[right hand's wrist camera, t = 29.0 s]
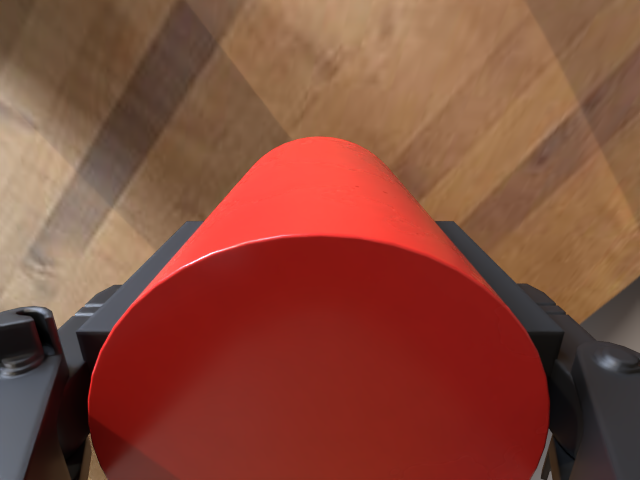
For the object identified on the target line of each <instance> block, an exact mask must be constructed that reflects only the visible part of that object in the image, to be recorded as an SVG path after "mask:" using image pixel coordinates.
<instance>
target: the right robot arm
mask: <svg viewBox="0 0 640 480" xmlns="http://www.w3.org/2000/svg"><path fill="white" fill-rule="evenodd" d="M203 222H204V221H187V222H186V223H185V224H184V225H183V226H182V227H181V228H180V229H179V230H178V231H177V232H176V233H175V234H174V235H173V236H172V237H171V238H170V239H169V240H168V241H167V242H166V243H164V244H163V245H162V246H161V247H160V248H159V249H158V250H157V251H156V252H155V253H154V254H153V255H152V256H151V257H150V258H149V259H148V260H147V261H146V262H145V263H144V264H143V265H142V266H141V267H140V268H139V269H138V270H137V271H136V272H135V273H134V274H133V275H132V276H131V277H130V278H129V279H128V280H127V281H126V282H125V283H124V284H123V285H113V286H111V287H109V288H107V289H105V290H104V291H102V292H100V293H98V294H96V295H95V296H94V297H93V298H92V299H91V300H90V301H89V302H88V303H86V304H85V307H82V308H81V309H80V310H79V311H78V312H77V313H76V314H75V316H72V317H71V318H70V319H69V320H68V321H67V322H66V323H65V324H64V325H62V326H61V327H60V328H59V329H58V330H57V327H56V324H55V320H54V317H53V313H52V311H51V310H49V309H47V308H46V307H37V306H31V307H20V308H16V309H12V310H7V311H3V312H1V313H0V480H88V473H89V467H90V460H91V453H92V452H91V445H90V441H89V437H88V435H89V433H90V429H89V423H88V395H89V389H90V383H91V377H92V372H93V369H94V367H95V364H96V361H97V358H98V355H99V352H100V350H101V348H102V346H103V344H104V342H105V341H106V339H107V337H108V335H109V334H110V332H111V330H112V328H113V327H114V325H115V324H116V323H117V322H118V320H119V319H120V318H121V317H122V315H123V314H124V313H125V312H126V311H127V309H128V308H129V307H130V306H131V304H132V303H133V302H134V301H135V300H136V299H137V298H138V296H139V295H140V294H141V293H142V292H143V291H144V290H145V288H146V287H147V286H148V285H149V284H150V283H151V282H152V280H153V279H154V278H155V277H156V276H157V275H158V274H159V272H160V271H161V270H162V269H163V268H164V267H165V266H166V264H167V263H168V262H169V261H170V260H171V259H172V258H173V256H174V255H175V254H176V253H177V252H178V251H179V250H180V249H181V247H182V246H183V245H184V244H185V243H186V242H187V241H188V239H189V238H190V237H191V236H192V235H193V234H194V233H195V231H196V230H197V229H198V228H199V227H200V226H201V225H202V223H203ZM435 223H436V224H437V225H438V226H439V227H440V228H441V230H442V231H443V232H444V233H445V234H446V235H447V236H448V238H449V239H450V240H451V241H452V242H453V243H454V245H455V246H456V247H457V248H458V249H459V250H460V252H461V253H462V254H463V255H464V256H465V257H466V259H467V260H468V261H469V262H470V263H471V264H472V265H473V267H474V268H475V269H476V270H477V271H478V272H479V274H480V275H481V276H482V277H483V278H484V279H485V281H486V282H487V283H488V284H489V285H490V286H491V288H492V289H493V290H494V291H495V292H496V293H497V295H498V296H499V297H500V298H501V299H502V300H503V301H504V303H505V304H506V305H507V306H508V307H509V309H510V310H511V311H512V312H513V314H514V315H515V316H516V317H517V319H518V320H519V321H520V323H521V324H522V325H523V326H524V328H525V329H526V331H527V333H528V334H529V336H530V338H531V340H532V342H533V344H534V345H535V347H536V349H537V351H538V353H539V356H540V359H541V362H542V365H543V368H544V371H545V374H546V378H547V384H548V391H549V398H550V421H549V429H550V431H551V432H552V433H553V434H552V438H551V441H550V444H549V448H548V451H547V455H546V458H545V462H544V465H543V469H542V474H541V479H544V480H547V478H548V475H549V472H550V471H551V472H552V479H553V480H640V353H638V352H636V351H633V350H631V349H629V348H627V347H624V346H621V345H617V344H614V343H610V342H603V341H596V340H595V339H594V338H593V337H592V336H591V335H590V334H589V333H588V332H587V331H586V330H584V329H583V328H582V327H581V326H580V325H579V324H578V323H577V322H576V321H575V320H573V319H572V318H571V317H570V316H569V315H566V312H565V311H564V310H562V309H561V308H560V307H559V306H556V303H555V302H554V301H553V300H551V299H550V298H549V297H548V296H547V295H546V294H545V293H544V292H542V291H540V290H538V289H536V288H534V287H532V286H530V285H528V284H516V283H515V282H514V281H513V280H512V279H511V278H510V277H509V276H508V275H507V274H506V273H505V272H504V271H503V270H502V269H501V268H500V267H499V266H498V265H497V264H496V263H495V262H494V261H493V260H492V259H491V258H490V257H489V256H488V255H487V254H486V253H485V252H484V251H483V250H482V249H481V248H480V247H479V246H478V245H477V244H476V243H475V242H474V241H473V240H472V239H471V238H470V237H469V236H468V235H467V234H466V233H465V232H464V231H463V230H462V229H461V228H460V227H459V226H458V225H457V224H456V223H455V222H454V221H435Z"/></svg>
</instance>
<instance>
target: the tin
mask: <svg viewBox="0 0 640 480" xmlns="http://www.w3.org/2000/svg"><path fill="white" fill-rule="evenodd" d="M549 421H550V398H549V391H548V384H547V378H546V374H545V371H544V368H543V365H542V362H541V359H540V356H539V353H538V351H537V349H536V347H535V345H534V344H533V342H532V340H531V338H530V336H529V334H528V333H527V331H526V329H525V328H524V326H523V325H522V324H521V323H520V321H519V320H518V319H517V317H516V316H515V315H514V314H513V312H512V311H511V310H510V309H509V307H508V306H507V305H506V304H505V303H504V301H503V300H502V299H501V298H500V297H499V296H498V295H497V293H496V292H495V291H494V290H493V289H492V288H491V286H490V285H489V284H488V283H487V282H486V281H485V279H484V278H483V277H482V276H481V275H480V274H479V272H478V271H477V270H476V269H475V268H474V267H473V265H472V264H471V263H470V262H469V261H468V260H467V259H466V257H465V256H464V255H463V254H462V253H461V252H460V250H459V249H458V248H457V247H456V246H455V245H454V243H453V242H452V241H451V240H450V239H449V238H448V236H447V235H446V234H445V233H444V232H443V231H442V230H441V228H440V227H439V226H438V225H437V224H436V223H435V221H434V220H433V219H432V218H431V217H430V216H429V214H428V213H427V212H426V211H425V210H424V209H423V207H422V206H421V205H420V204H419V203H418V202H417V200H416V199H415V198H414V197H413V196H412V195H411V194H410V192H409V191H408V190H407V189H406V188H405V187H404V185H403V184H402V183H401V182H400V181H399V180H398V178H397V177H396V176H395V175H394V174H393V173H392V171H391V170H390V169H389V168H388V167H387V166H386V165H385V164H384V163H383V162H382V161H381V160H380V159H379V158H378V157H377V156H375V155H374V154H373V153H371V152H370V151H368V150H367V149H365V148H363V147H361V146H359V145H357V144H355V143H352V142H349V141H346V140H342V139H338V138H333V137H307V138H302V139H297V140H294V141H291V142H288V143H285V144H283V145H281V146H279V147H277V148H275V149H273V150H271V151H270V152H268V153H267V154H266V155H264V156H263V157H262V158H261V159H260V160H258V161H257V162H256V163H255V164H254V165H253V166H252V168H251V169H250V170H249V171H248V172H247V173H246V174H245V176H244V177H243V178H242V179H241V180H240V181H239V182H238V183H237V185H236V186H235V187H234V188H233V189H232V190H231V191H230V193H229V194H228V195H227V196H226V197H225V198H224V199H223V201H222V202H221V203H220V204H219V205H218V206H217V207H216V209H215V210H214V211H213V212H212V213H211V214H210V215H209V217H208V218H207V219H206V220H205V221H204V222H203V223H202V225H201V226H200V227H199V228H198V229H197V230H196V231H195V233H194V234H193V235H192V236H191V237H190V238H189V239H188V241H187V242H186V243H185V244H184V245H183V246H182V247H181V249H180V250H179V251H178V252H177V253H176V254H175V255H174V256H173V258H172V259H171V260H170V261H169V262H168V263H167V264H166V266H165V267H164V268H163V269H162V270H161V271H160V272H159V274H158V275H157V276H156V277H155V278H154V279H153V280H152V282H151V283H150V284H149V285H148V286H147V287H146V288H145V290H144V291H143V292H142V293H141V294H140V295H139V296H138V298H137V299H136V300H135V301H134V302H133V303H132V304H131V306H130V307H129V308H128V309H127V311H126V312H125V313H124V314H123V315H122V317H121V318H120V319H119V320H118V322H117V323H116V324H115V325H114V327H113V328H112V330H111V332H110V334H109V335H108V337H107V339H106V341H105V342H104V344H103V346H102V348H101V350H100V352H99V355H98V358H97V361H96V364H95V367H94V369H93V372H92V377H91V383H90V389H89V395H88V423H89V429H90V434H91V439H92V444H93V447H94V450H95V453H96V455H97V458H98V461H99V464H100V466H101V468H102V470H103V472H104V473H105V475H106V477H107V479H108V480H530V479H531V477H532V476H533V474H534V472H535V470H536V469H537V466H538V464H539V461H540V458H541V456H542V453H543V451H544V448H545V444H546V439H547V434H548V429H549Z"/></svg>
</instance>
